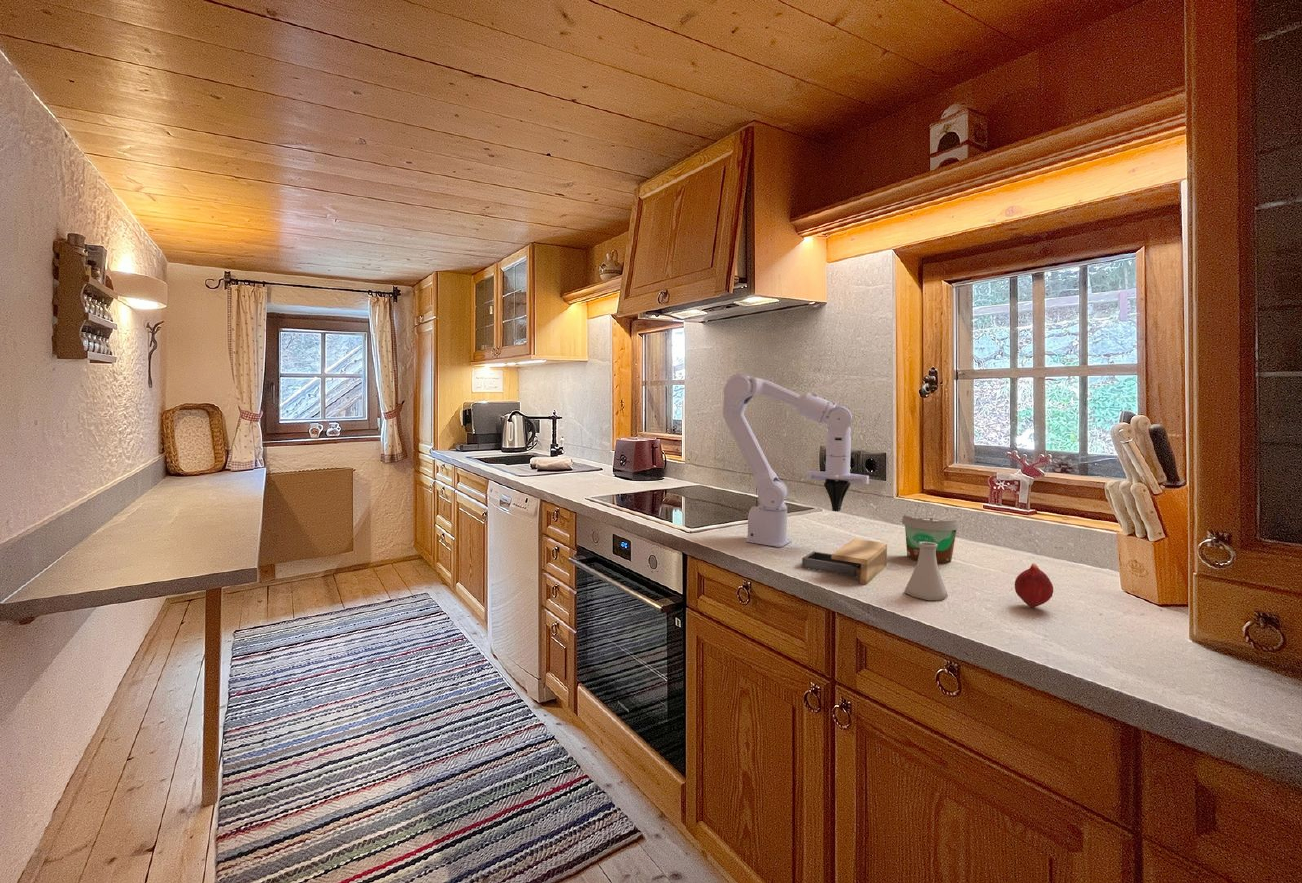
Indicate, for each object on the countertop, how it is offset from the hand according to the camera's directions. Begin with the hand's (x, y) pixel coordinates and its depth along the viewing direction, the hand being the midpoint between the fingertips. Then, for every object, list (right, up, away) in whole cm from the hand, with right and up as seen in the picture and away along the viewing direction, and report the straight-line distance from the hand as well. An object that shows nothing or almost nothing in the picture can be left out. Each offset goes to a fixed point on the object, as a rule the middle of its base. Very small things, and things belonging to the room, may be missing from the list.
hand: (836, 510), depth 147 cm
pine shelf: (-1, -11, -19) cm, 22 cm away
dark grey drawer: (-5, -11, -16) cm, 20 cm away
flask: (+7, -13, -33) cm, 36 cm away
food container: (+18, -11, -10) cm, 23 cm away
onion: (+23, -13, -39) cm, 47 cm away
